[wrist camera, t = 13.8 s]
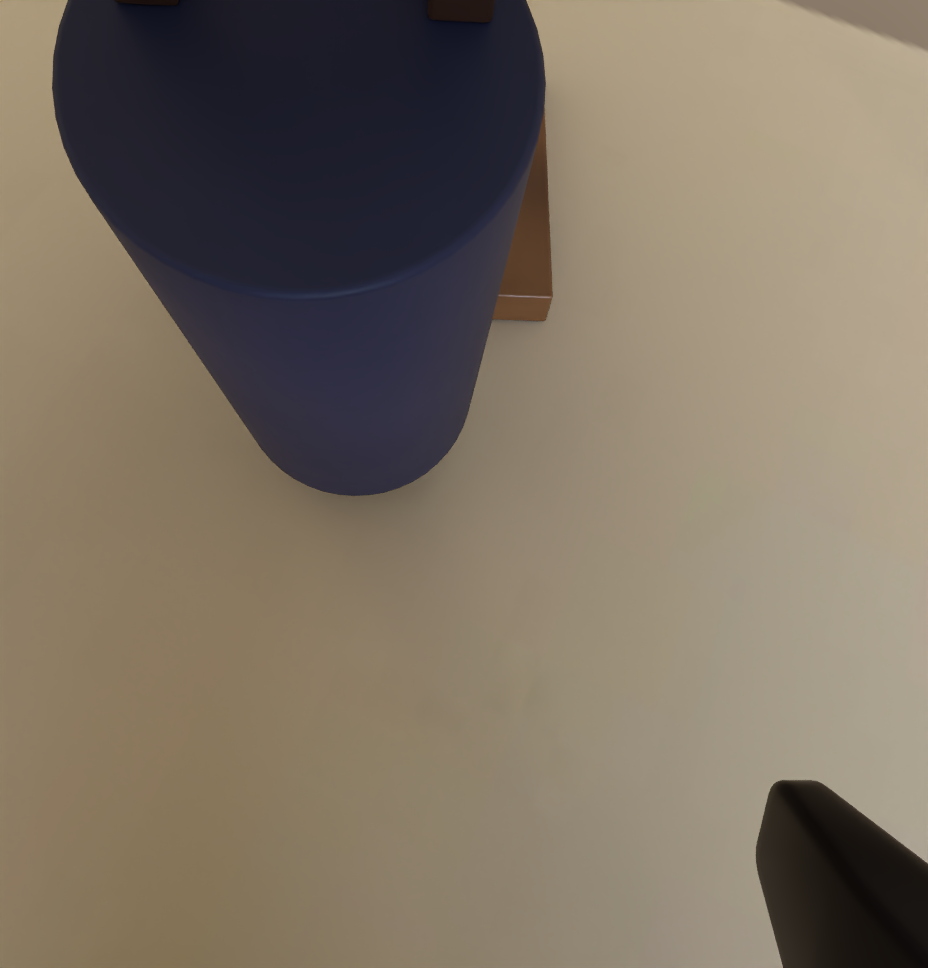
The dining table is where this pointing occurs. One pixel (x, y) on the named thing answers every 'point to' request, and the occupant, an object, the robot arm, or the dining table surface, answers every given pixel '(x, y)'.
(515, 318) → the hook stand
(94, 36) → the blue handled weight
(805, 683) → the dining table surface
